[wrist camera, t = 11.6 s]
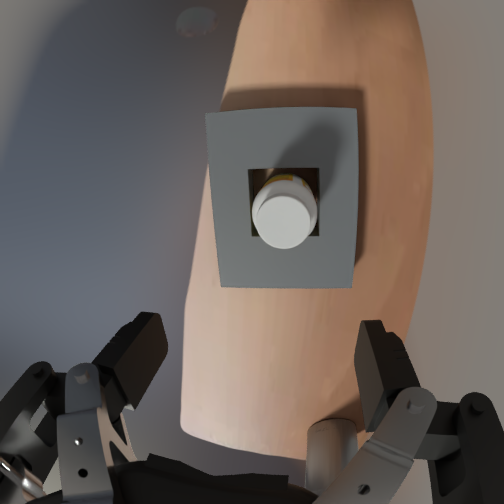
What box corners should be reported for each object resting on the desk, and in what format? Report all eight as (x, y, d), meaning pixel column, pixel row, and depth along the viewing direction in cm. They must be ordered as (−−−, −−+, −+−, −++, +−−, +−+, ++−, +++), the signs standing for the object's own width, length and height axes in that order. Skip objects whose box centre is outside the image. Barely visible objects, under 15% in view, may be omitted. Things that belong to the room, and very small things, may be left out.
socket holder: (347, 275, 31) (351, 288, 28) (227, 274, 33) (221, 287, 30) (350, 112, 24) (356, 108, 21) (213, 116, 26) (205, 113, 24)
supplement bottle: (253, 210, 30) (234, 240, 21) (273, 164, 28) (263, 173, 19) (299, 231, 30) (300, 269, 21) (321, 186, 28) (333, 206, 19)
